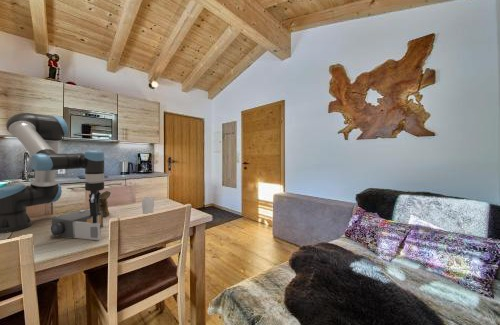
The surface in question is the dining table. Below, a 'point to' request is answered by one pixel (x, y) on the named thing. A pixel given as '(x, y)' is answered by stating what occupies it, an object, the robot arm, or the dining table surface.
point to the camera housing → (71, 222)
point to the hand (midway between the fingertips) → (95, 228)
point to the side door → (86, 230)
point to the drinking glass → (148, 204)
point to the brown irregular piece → (104, 203)
